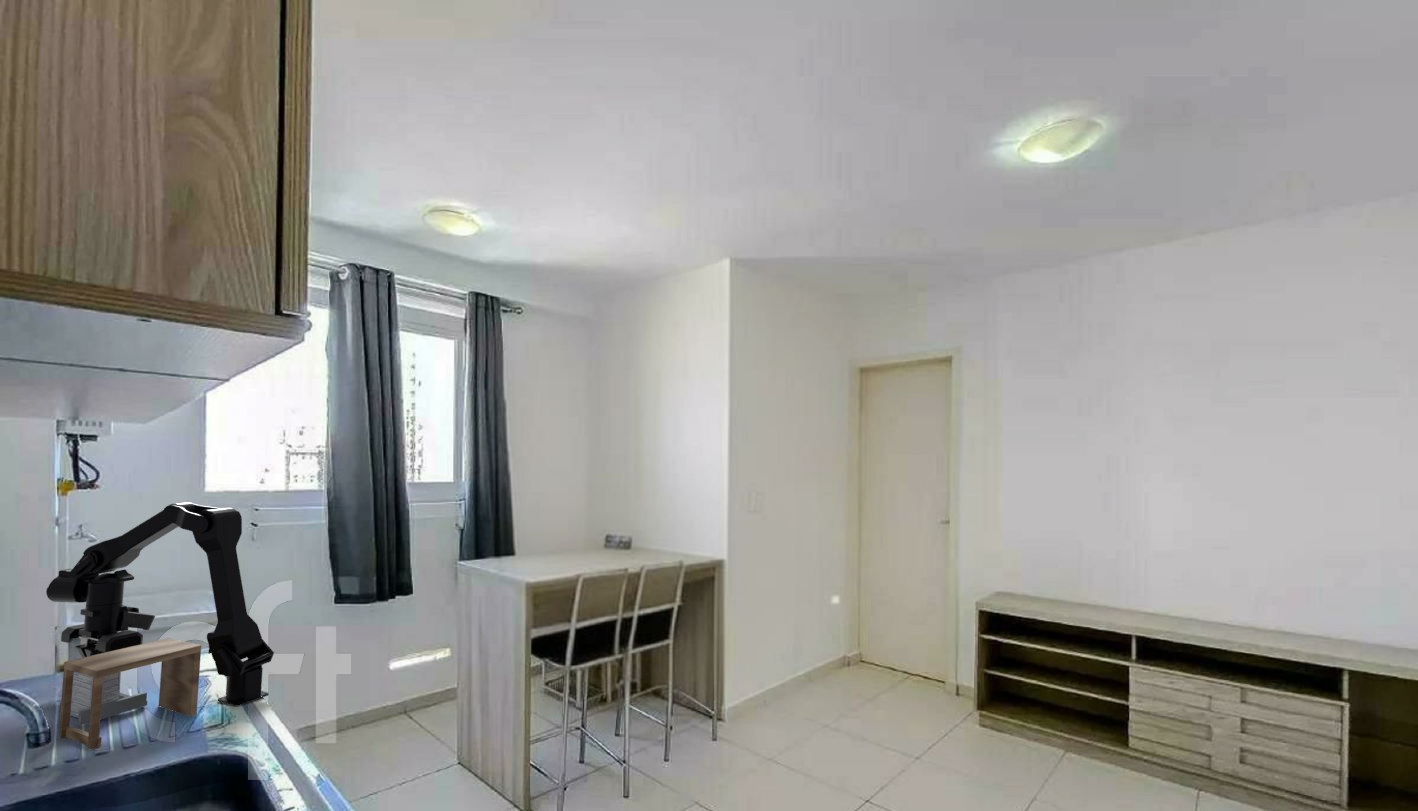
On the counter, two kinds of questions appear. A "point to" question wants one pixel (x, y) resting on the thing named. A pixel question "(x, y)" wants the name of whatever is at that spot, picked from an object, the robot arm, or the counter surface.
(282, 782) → the counter surface
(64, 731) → the walnut shelf
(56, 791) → the counter surface
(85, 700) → the medicine box
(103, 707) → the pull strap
